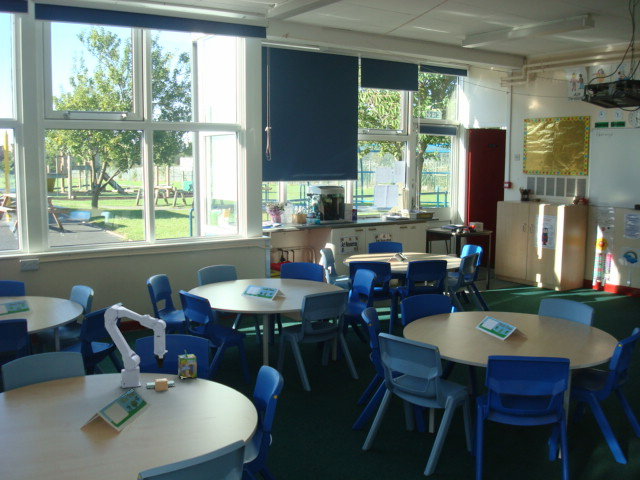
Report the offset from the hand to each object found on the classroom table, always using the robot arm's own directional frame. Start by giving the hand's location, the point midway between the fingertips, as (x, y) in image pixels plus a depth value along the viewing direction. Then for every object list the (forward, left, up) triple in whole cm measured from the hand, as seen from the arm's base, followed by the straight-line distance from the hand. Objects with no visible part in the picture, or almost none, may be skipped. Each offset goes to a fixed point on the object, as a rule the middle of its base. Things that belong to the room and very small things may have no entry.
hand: (160, 368), depth 339 cm
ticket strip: (0, -1, -9) cm, 9 cm away
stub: (0, -7, -9) cm, 12 cm away
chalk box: (+16, +12, -10) cm, 22 cm away
